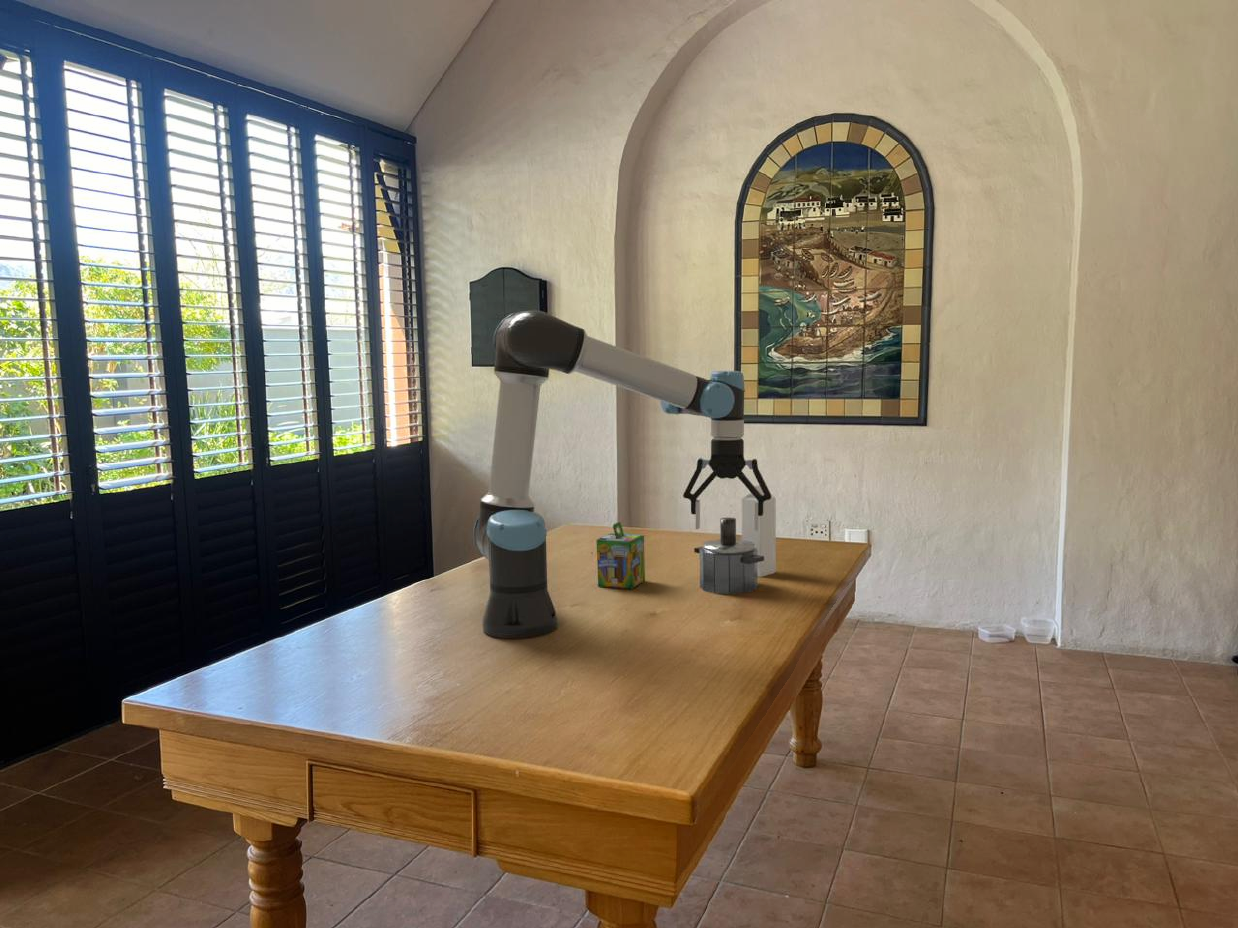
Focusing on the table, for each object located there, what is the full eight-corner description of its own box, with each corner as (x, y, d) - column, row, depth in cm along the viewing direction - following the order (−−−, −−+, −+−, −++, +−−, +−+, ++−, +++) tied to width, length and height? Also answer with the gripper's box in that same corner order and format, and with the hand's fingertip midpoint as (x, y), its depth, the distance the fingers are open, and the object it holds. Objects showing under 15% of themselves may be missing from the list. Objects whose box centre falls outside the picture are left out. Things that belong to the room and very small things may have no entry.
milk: (775, 573, 233) (776, 485, 230) (760, 577, 229) (760, 488, 226) (756, 569, 237) (756, 482, 234) (741, 573, 233) (741, 485, 230)
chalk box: (632, 590, 220) (630, 527, 218) (596, 587, 223) (594, 525, 221) (646, 580, 228) (645, 520, 226) (611, 577, 232) (610, 518, 230)
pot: (737, 599, 210) (736, 559, 208) (682, 584, 223) (682, 547, 222) (775, 588, 218) (775, 550, 217) (720, 575, 231) (720, 539, 230)
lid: (729, 561, 211) (729, 525, 210) (691, 553, 220) (691, 519, 219) (764, 553, 219) (764, 518, 218) (727, 545, 228) (727, 512, 227)
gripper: (782, 437, 218) (781, 527, 220) (675, 436, 222) (675, 524, 224) (782, 440, 210) (781, 533, 213) (671, 439, 215) (671, 530, 217)
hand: (726, 529), depth 219 cm, fingers open, 13 cm apart
